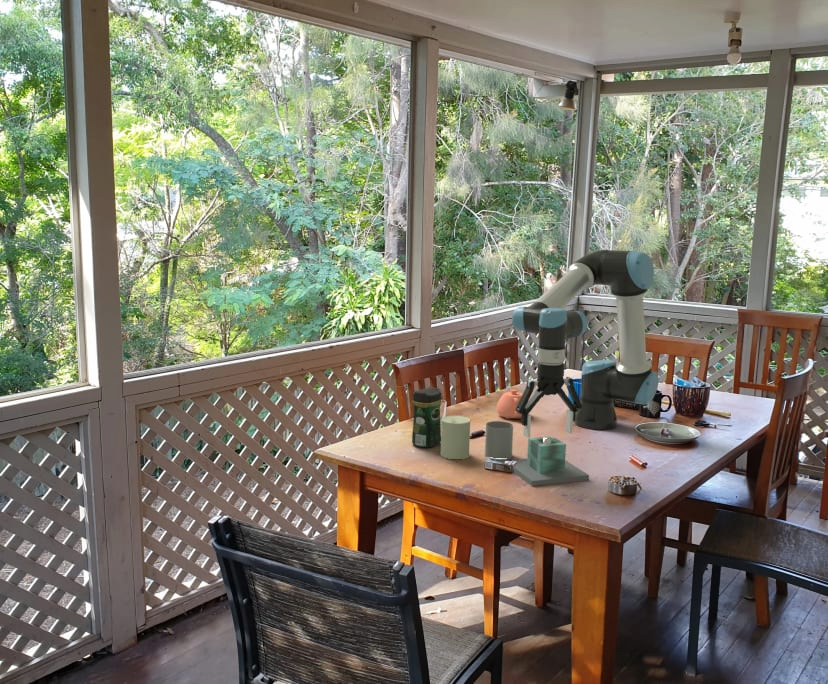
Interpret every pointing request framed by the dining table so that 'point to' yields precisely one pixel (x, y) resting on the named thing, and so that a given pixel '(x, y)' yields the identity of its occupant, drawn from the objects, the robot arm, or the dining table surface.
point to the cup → (499, 439)
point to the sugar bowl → (509, 405)
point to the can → (455, 437)
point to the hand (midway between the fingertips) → (547, 434)
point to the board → (548, 474)
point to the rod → (547, 440)
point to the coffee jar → (426, 417)
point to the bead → (546, 455)
